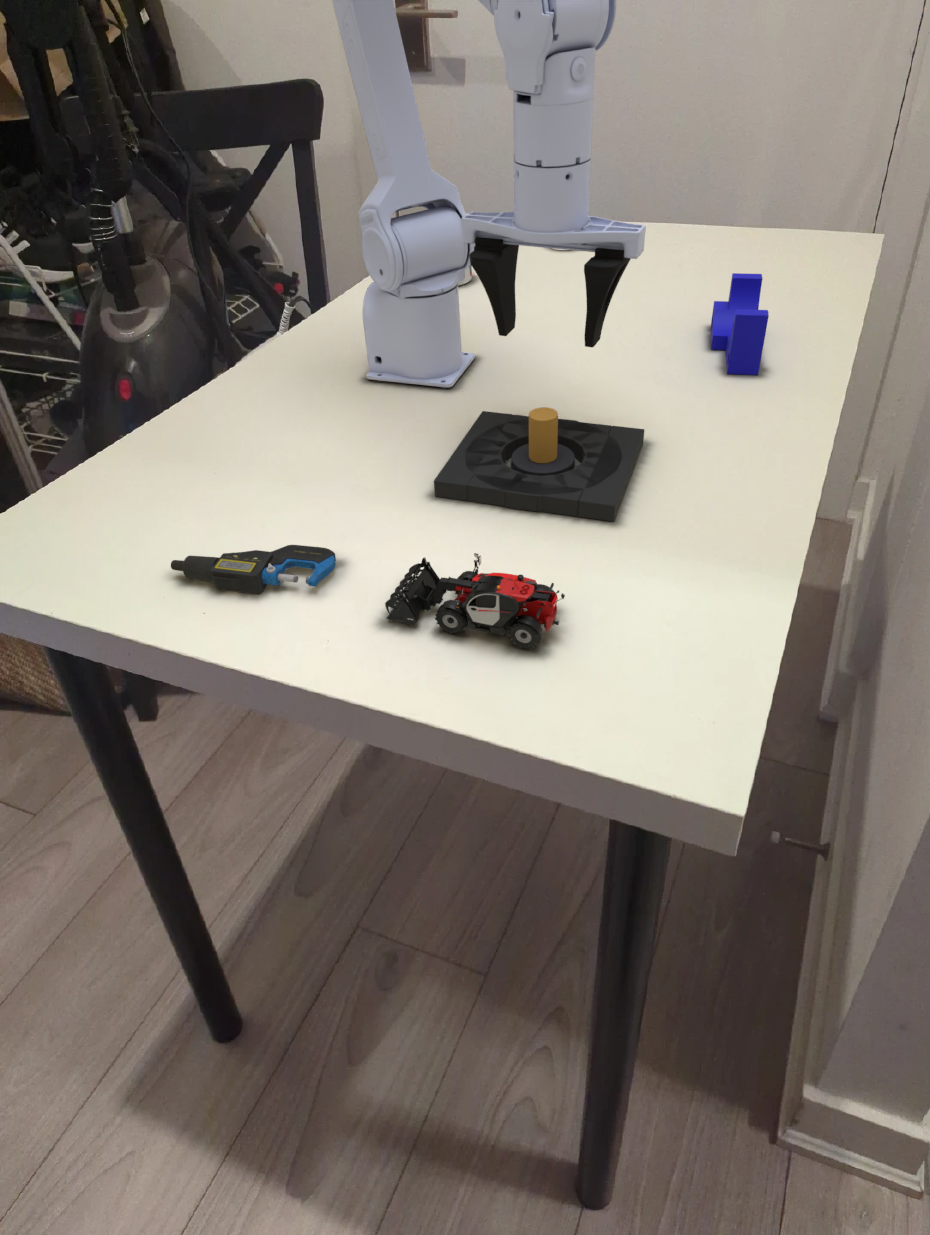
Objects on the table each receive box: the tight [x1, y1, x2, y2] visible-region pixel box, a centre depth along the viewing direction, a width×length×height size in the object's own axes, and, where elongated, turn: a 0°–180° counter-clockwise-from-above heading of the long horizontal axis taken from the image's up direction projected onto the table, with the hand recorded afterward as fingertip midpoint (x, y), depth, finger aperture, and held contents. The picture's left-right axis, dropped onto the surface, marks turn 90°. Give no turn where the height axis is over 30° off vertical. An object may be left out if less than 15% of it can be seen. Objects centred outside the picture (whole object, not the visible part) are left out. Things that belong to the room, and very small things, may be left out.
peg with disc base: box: [510, 406, 576, 476], centre depth 73 cm, size 5×5×5 cm
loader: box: [385, 552, 566, 650], centre depth 58 cm, size 12×5×5 cm, turn 69°
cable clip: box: [710, 272, 770, 376], centre depth 90 cm, size 12×4×6 cm, turn 168°
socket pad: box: [433, 410, 645, 522], centre depth 74 cm, size 15×13×2 cm
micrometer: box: [170, 544, 337, 595], centre depth 64 cm, size 12×2×5 cm
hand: (548, 337), depth 73 cm, fingers open, 7 cm apart
